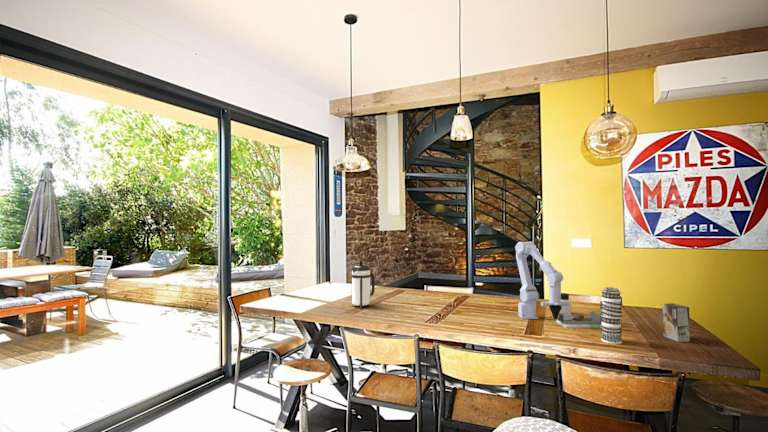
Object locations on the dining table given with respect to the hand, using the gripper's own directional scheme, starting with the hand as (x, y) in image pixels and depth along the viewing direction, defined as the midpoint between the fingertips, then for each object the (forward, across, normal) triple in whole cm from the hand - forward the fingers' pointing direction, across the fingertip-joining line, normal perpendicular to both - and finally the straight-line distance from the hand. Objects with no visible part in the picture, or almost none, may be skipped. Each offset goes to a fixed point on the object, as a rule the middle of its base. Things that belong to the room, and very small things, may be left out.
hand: (555, 319), depth 210 cm
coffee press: (+3, -109, +44) cm, 117 cm away
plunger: (+1, +7, 0) cm, 7 cm away
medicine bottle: (+3, +15, +25) cm, 30 cm away
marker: (+1, +13, 0) cm, 13 cm away
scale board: (+3, +13, 0) cm, 13 cm away
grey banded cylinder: (+3, +14, -28) cm, 32 cm away
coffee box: (+3, +48, -24) cm, 53 cm away
